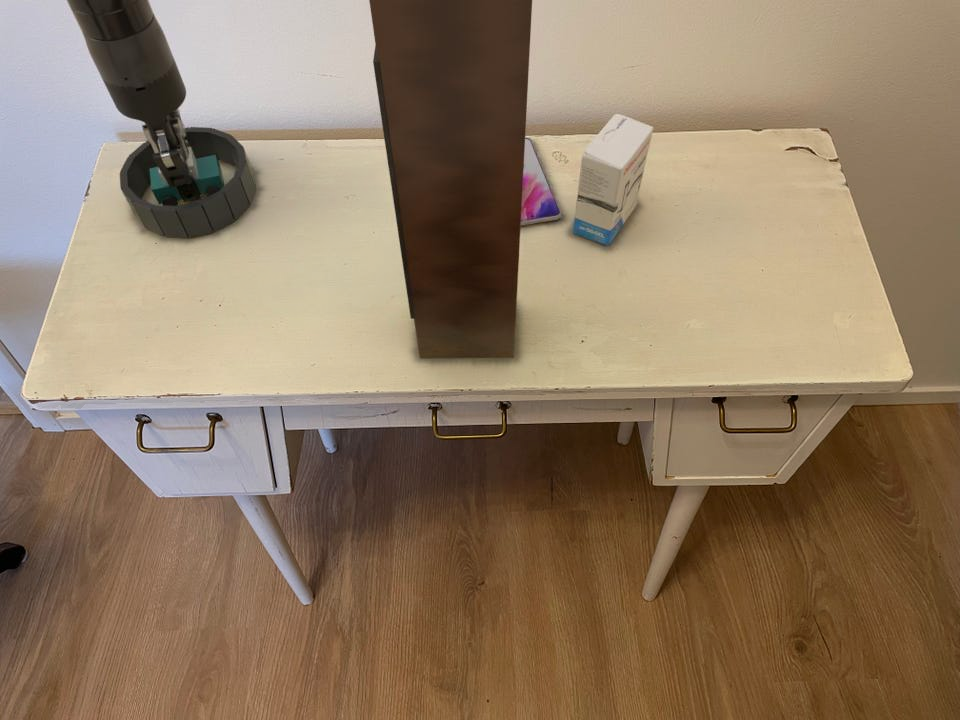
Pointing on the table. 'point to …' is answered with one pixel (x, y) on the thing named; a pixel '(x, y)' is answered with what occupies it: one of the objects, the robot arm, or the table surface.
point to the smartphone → (536, 190)
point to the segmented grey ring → (198, 214)
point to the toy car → (203, 173)
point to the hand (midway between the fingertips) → (190, 186)
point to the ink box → (611, 178)
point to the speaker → (456, 163)
